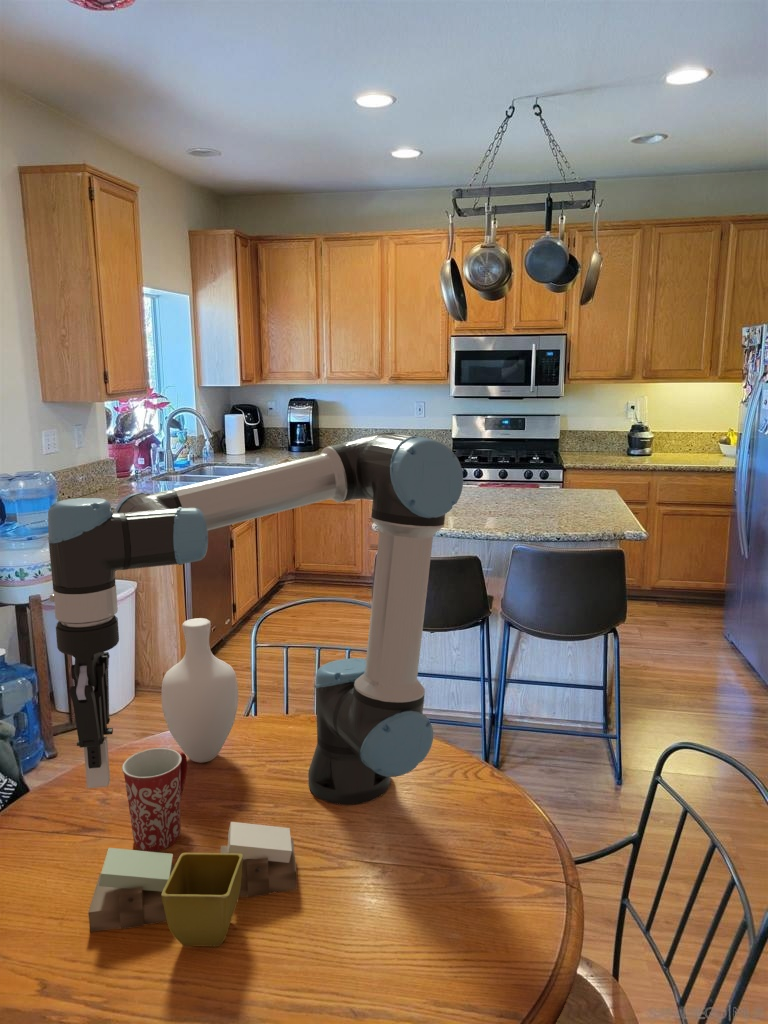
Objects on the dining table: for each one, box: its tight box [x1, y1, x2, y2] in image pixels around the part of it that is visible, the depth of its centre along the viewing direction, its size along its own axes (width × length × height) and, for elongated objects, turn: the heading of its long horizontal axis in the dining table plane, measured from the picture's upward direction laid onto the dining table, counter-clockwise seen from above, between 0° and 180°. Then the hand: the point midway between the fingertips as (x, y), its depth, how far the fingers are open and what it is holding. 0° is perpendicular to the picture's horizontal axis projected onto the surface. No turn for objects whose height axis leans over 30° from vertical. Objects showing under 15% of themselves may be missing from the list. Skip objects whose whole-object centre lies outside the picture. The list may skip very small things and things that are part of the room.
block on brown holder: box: [219, 837, 298, 898], centre depth 108 cm, size 11×8×5 cm
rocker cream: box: [227, 821, 292, 863], centre depth 108 cm, size 9×6×2 cm, turn 101°
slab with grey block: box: [87, 863, 176, 933], centre depth 102 cm, size 11×8×5 cm
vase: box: [161, 617, 239, 763], centre depth 140 cm, size 14×14×28 cm
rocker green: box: [99, 847, 174, 892], centre depth 102 cm, size 9×6×2 cm, turn 101°
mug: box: [121, 747, 188, 852], centre depth 118 cm, size 13×9×14 cm
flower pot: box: [161, 852, 243, 947], centre depth 97 cm, size 9×9×9 cm
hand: (98, 784), depth 99 cm, fingers closed
